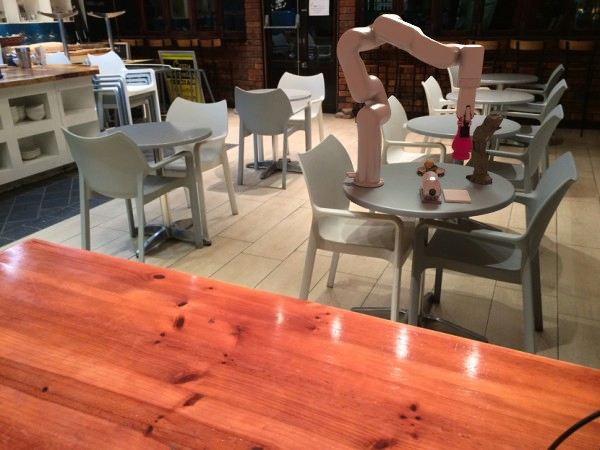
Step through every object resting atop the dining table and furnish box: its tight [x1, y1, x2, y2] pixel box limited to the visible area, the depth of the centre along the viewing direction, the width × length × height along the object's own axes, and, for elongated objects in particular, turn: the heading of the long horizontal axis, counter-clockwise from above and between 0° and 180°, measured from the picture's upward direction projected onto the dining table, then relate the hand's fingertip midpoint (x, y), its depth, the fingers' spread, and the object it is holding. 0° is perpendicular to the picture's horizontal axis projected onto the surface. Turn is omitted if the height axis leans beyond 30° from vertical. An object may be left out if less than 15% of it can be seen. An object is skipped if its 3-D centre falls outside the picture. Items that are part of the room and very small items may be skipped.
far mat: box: [442, 188, 472, 204], centre depth 184 cm, size 9×12×1 cm
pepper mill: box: [451, 113, 475, 161], centre depth 175 cm, size 7×7×20 cm
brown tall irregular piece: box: [465, 112, 504, 185], centre depth 196 cm, size 13×7×29 cm, turn 25°
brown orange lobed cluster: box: [417, 159, 446, 178], centre depth 211 cm, size 12×12×8 cm
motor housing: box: [419, 171, 443, 205], centre depth 185 cm, size 7×16×7 cm, turn 170°
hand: (463, 135), depth 175 cm, fingers closed on pepper mill, 5 cm apart
